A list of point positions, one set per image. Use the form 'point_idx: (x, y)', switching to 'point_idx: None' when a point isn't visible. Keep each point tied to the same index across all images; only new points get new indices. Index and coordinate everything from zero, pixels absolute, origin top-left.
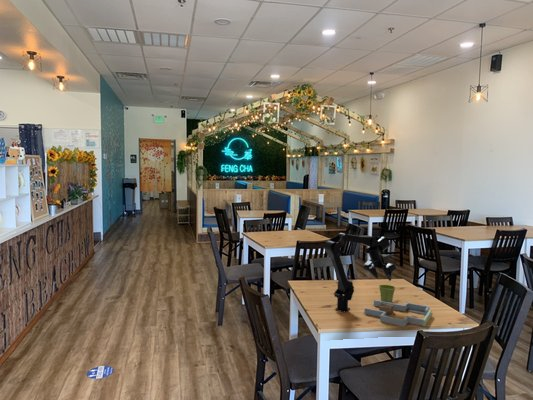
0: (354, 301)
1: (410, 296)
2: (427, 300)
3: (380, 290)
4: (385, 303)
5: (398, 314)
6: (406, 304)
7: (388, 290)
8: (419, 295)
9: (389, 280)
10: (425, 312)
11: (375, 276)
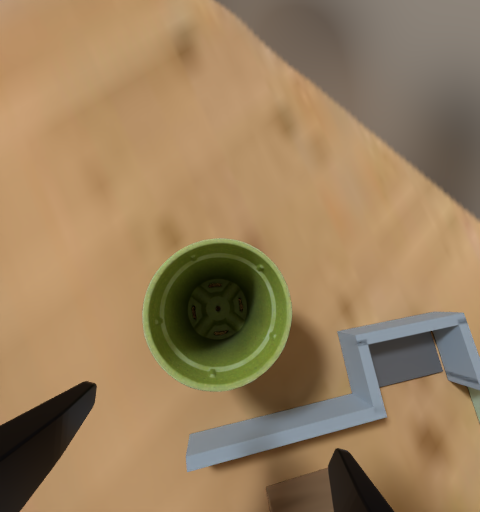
0: None
1: (272, 145)
2: (350, 155)
3: (179, 351)
4: (268, 445)
5: None
6: (375, 377)
7: (256, 363)
8: (294, 108)
9: (334, 486)
10: (467, 384)
11: (48, 471)
